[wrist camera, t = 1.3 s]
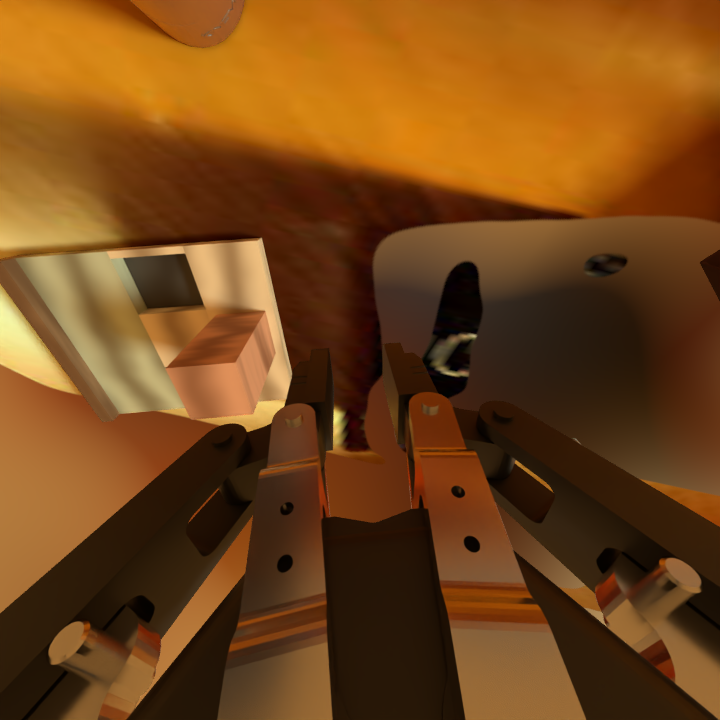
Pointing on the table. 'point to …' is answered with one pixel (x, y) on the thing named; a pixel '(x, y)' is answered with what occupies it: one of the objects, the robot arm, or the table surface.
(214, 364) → the block
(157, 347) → the trap box
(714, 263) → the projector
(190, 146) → the table surface
